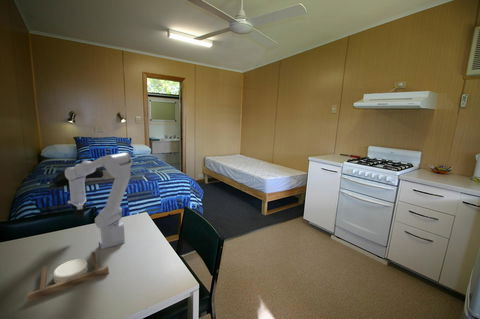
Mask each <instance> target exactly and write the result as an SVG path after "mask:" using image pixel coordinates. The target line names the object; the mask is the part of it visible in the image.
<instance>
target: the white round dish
mask: <svg viewBox="0 0 480 319" xmlns="http://www.w3.org/2000/svg"><path fill="white" fill-rule="evenodd" d="M88 271H89V266H88V261H87V260H85V259H83V258H77V259H76V258H75V259H72V260H69V261H65V262H64V263H62V264H60V265H59V266H57V267H56V268H55V269H54V270H53V274H52V275H53V281H54V284H56V283H59V282H62V281H65V280H68V279H71V278H74V277H77V276H80V275H83V274H86V273H88Z"/></svg>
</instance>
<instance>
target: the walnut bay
mask: <svg viewBox="0 0 480 319" xmlns="http://www.w3.org/2000/svg"><path fill="white" fill-rule="evenodd" d="M91 260H92V264H93V269H94V270H92V271H89V272H87V273H86V274H83V275H80V276H77V277H74V278H71V279H68V280H65V281H62V282H59V283H54V284H52V285H51V284H50V285H48V286H47V283H48V282H47V278H48V266H47V265H45V266H42V267H41V276H40V285H39V289H37V290H34V291H30V292H28V293H27V296H26V297H27V302H29V303H31V302H34V301H36V300H40V299H42V298H45V297H47V296H51V295H53V294H56V293H58V292H62V291H63V290H67V289H70V288H72V287H75V286H78V285H81V284H83V283H86V282H89V281H93V280H95V279H98V278H100V277H103V276H105V275H109V274H110V271H109V266H108V265H107V266H104V267H99V262H98V259H97V253H96V251H91ZM33 300H34V301H33Z"/></svg>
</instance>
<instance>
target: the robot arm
mask: <svg viewBox="0 0 480 319" xmlns="http://www.w3.org/2000/svg"><path fill="white" fill-rule="evenodd" d="M132 164H133V159H132V157H131V155H130V154H129V153H128V152H125V151H124V152H120V153H115V154H107V155H104V156H101V157H98V158H96V159H95V160H93V161H91V160H83V161H81V163H77V164H75V165H74V166H71V167H70V166H69V167H67V168H65V170H64V176H65V178H66V179H67V180H68V185H69V194H70V200H68V201H67V204H68V205H70V204H71V209H72V210H73V211H74V213H75V216H76V219H77V220H79V219H83V218H84V216H85V215H84V214H85V210H86V207H87V198H86V197H87V196H86V186H85V185H86V184H85V181H86V177H87V176H88V175H91V174H93V173H94V172H96V170H97V169H98V168H100V167H101V168H104V169H106V171H107V173H108V174H110V176H111V177H113V178H114V181H113V182H112V186H111V189H110V191H109V192H110V193H109V195H108V197H107V201H106V203H105V206H104V207H103V209H100V211H99V212H98V215H96V217H95V218H94V224H95V226H96V227H97V228H98V229H99V231H100V232H99V233H100V239H99V241H98V242H99V244H100V248H101V249H102V250H105V249H108V248H111V247H114V246H117V245H122V244H125V243H126V240H125V239H126V238H125V237H126V236H125V225H124V222H123V221H120V220H122V217H123V213H122V212H123V208H122V207H121V204H122V201H123V198H124V196H125V193H126V190H127V188H128V185H129V182H130V179H131V167H132Z"/></svg>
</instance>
